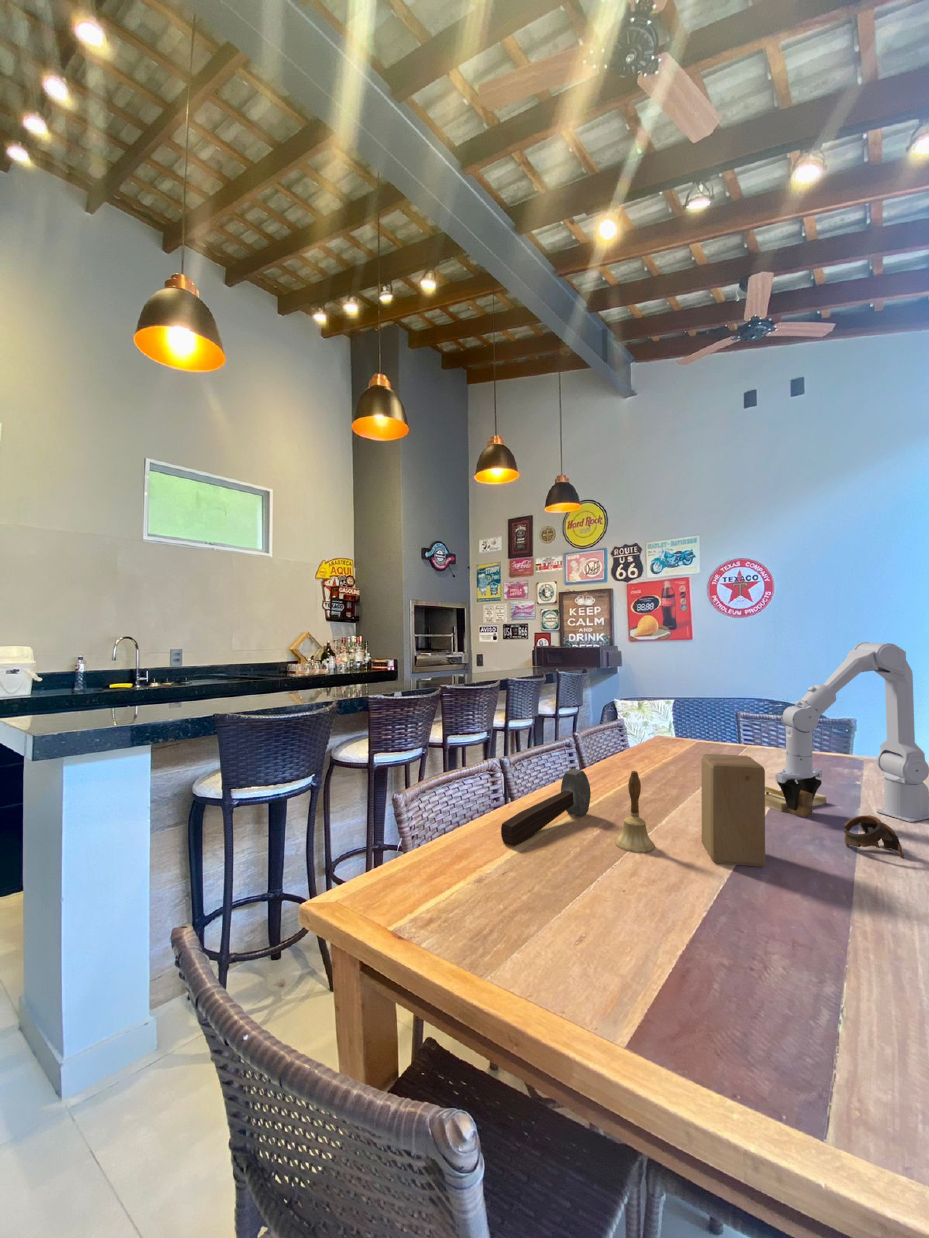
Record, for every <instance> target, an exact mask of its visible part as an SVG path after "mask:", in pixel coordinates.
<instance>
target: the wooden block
mask: <svg viewBox="0 0 929 1238" xmlns="http://www.w3.org/2000/svg"><path fill="white" fill-rule="evenodd" d="M765 787H766V771H765V768H764V766H763V765H761V764H760V763H758V762H757V761H756V760H754V759H753V758H752V757H750V756H749V755H739V754H720V753H719V754H718V753H717V754H715V753H705V754H702V756H701V843H702V846H703V848H704V849H705V851H706V853H707V854H708V856H709V858H710V860H711V861H712V862H713V863H715V864H727V865H738V866H749V867H760V868H761V867H764V866H765V864H766V806H765V795H766V791H765Z"/></svg>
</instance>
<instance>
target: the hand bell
mask: <svg viewBox="0 0 929 1238" xmlns="http://www.w3.org/2000/svg"><path fill="white" fill-rule="evenodd" d="M638 773H639V772H638V771H637V770H632V771H631V772H630V777H629V779H628V784H627V785H628V794H629V797H630V816H626V817H625V818H624V819H623V825H622V826H623V827H622V830H621V833H620V834H619V835H618V836H617V837H616V838H615V840H614V844H615V845H616V846H617V847H618V848H620V849H621V850H623V849H624V851H626V850H627V852H629V853H630V852H632V853H636V852H646V853H649V852H652V851H654V850H655V848H656V846H655V845H656V844H654V841H653V840H652V839H650V836H649V834H648V831H647V824H646V820H645V819H643V818H641V817H640V811H639V807H640V806H639V800H640V795H641V788H642V786H641V779H640V777H639V774H638ZM653 849H654V850H653Z"/></svg>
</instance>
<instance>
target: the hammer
mask: <svg viewBox="0 0 929 1238" xmlns="http://www.w3.org/2000/svg"><path fill="white" fill-rule="evenodd" d="M591 794H592V793H591V786H590V782H589V780H588V776H587V774H586V773H585V771H584V770H581V769H577V768H571V769H569V770H567V771H566V772H565V773H564V775H563V776H562V781H561V785H560V792H559V793H556V794H555V795H553V796H550V797H548V798H547V799H544V800H542V801H541V802H537V803H536V804H534V805H532V806H530V807H528V808H526V809H524V810H522V811H520V812H518V813H516V814H514V815H512V817H510V818H509V819H507V820H504V822H502V823H501V827H500V834H501V840H502V842H503V843H504V844H507V845H509V846H512V847H516V846H517V845H520V844H522V843H523V842H525V841H527V840H528V839H530V838H532V837H533V836H535V834H537V833H538V832H540V831H541V830H542V829H543V828H545V827H546V826H547V825H549V824H550V823H551V822H553V821H554V820H555V819H557V817H559V816H560V815H562V814H563V813H564V812H566V813H568V814H570V815H573V814H574V815H573V816H576V817H579V818H580V817H581V818H582V817H584V816H586V815H587V814H588V812H589V809H590V803H591Z"/></svg>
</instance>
